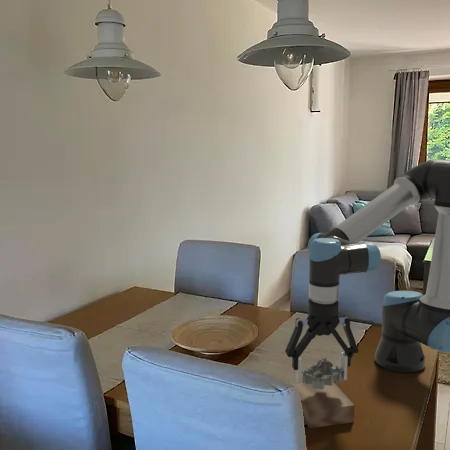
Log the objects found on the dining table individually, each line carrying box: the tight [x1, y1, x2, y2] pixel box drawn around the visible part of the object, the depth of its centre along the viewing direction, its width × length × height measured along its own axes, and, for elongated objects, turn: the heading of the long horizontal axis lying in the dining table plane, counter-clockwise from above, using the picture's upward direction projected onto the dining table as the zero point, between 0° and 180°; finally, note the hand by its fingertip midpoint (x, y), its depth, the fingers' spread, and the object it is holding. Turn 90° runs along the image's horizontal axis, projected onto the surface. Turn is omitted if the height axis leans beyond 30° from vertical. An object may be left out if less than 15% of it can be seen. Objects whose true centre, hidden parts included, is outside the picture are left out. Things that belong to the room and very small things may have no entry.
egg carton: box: [301, 357, 344, 390], centre depth 132 cm, size 11×8×4 cm
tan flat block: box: [291, 381, 355, 429], centre depth 134 cm, size 12×14×5 cm
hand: (321, 379), depth 132 cm, fingers closed on egg carton, 11 cm apart
